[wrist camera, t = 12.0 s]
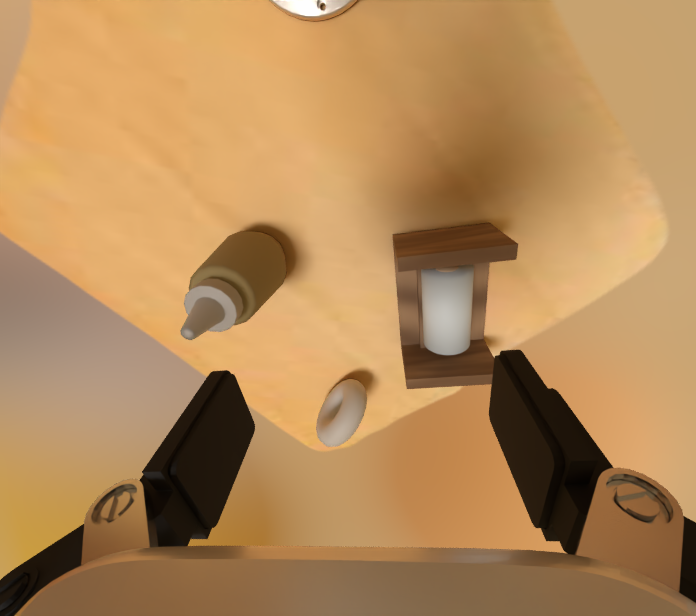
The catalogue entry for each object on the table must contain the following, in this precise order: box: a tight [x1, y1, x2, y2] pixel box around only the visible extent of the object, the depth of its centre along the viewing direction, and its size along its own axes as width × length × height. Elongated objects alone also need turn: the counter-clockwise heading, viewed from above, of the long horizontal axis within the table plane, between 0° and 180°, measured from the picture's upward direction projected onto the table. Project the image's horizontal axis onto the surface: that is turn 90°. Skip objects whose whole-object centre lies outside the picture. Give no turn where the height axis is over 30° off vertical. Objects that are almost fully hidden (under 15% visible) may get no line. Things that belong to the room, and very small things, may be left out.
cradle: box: [393, 223, 518, 389], centre depth 36 cm, size 17×11×8 cm, turn 8°
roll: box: [421, 264, 474, 355], centre depth 37 cm, size 10×6×6 cm, turn 8°
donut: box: [316, 379, 367, 447], centre depth 45 cm, size 10×4×10 cm, turn 143°
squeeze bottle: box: [181, 231, 287, 340], centre depth 31 cm, size 8×8×18 cm
